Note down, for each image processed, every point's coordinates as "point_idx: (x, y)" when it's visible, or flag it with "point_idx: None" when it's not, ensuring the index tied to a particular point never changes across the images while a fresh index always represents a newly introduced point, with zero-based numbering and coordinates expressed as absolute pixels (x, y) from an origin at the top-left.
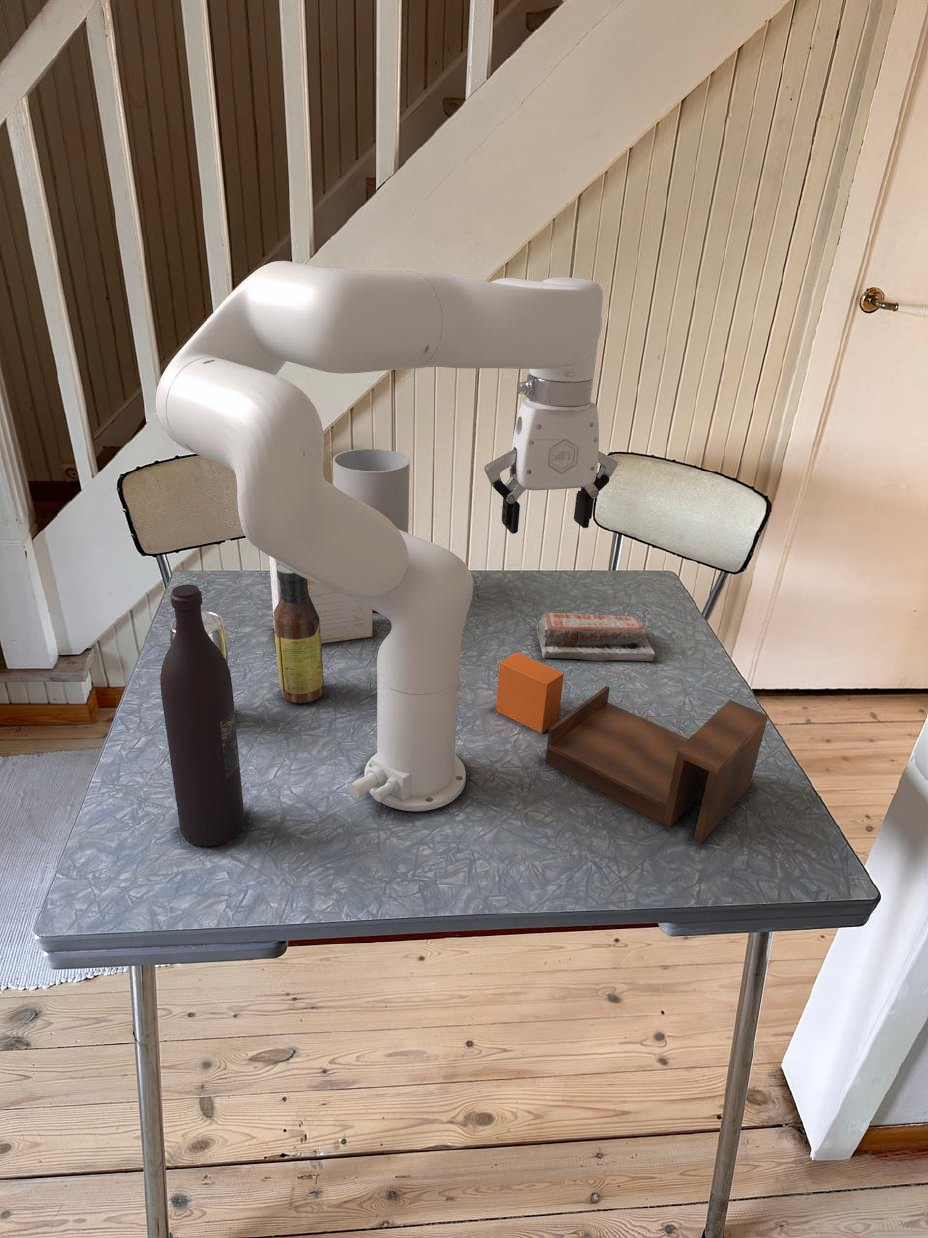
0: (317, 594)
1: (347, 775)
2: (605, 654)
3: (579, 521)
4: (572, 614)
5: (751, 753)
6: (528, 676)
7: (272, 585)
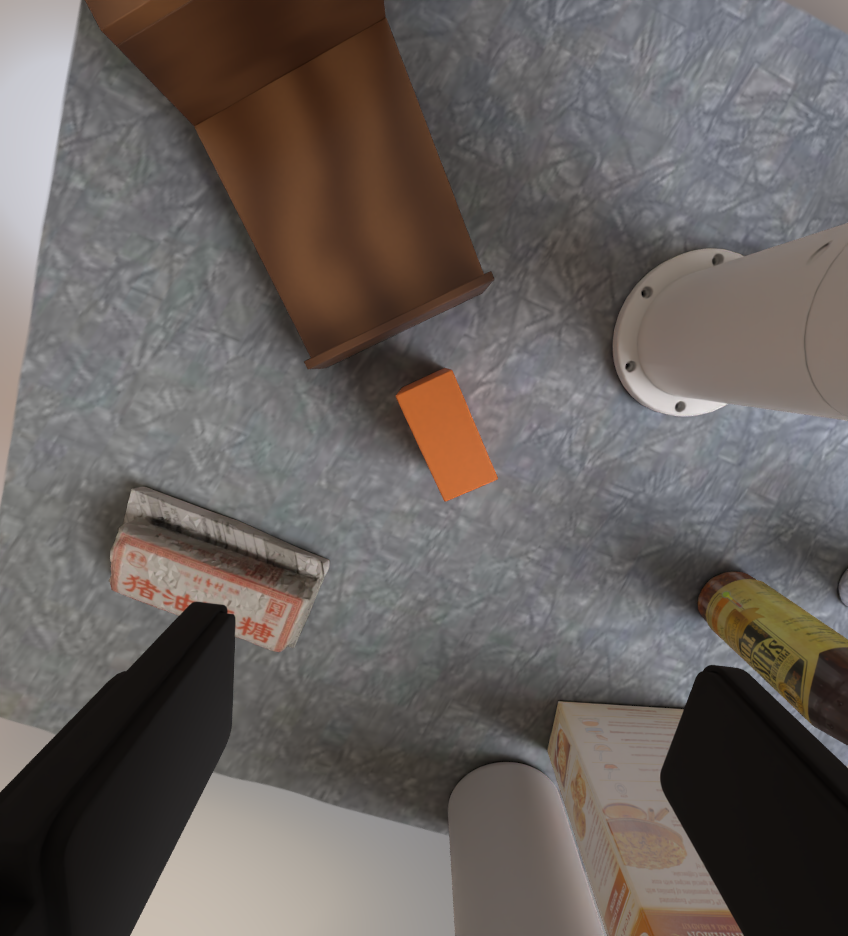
0: None
1: None
2: (223, 522)
3: (224, 677)
4: None
5: None
6: (470, 413)
7: None
